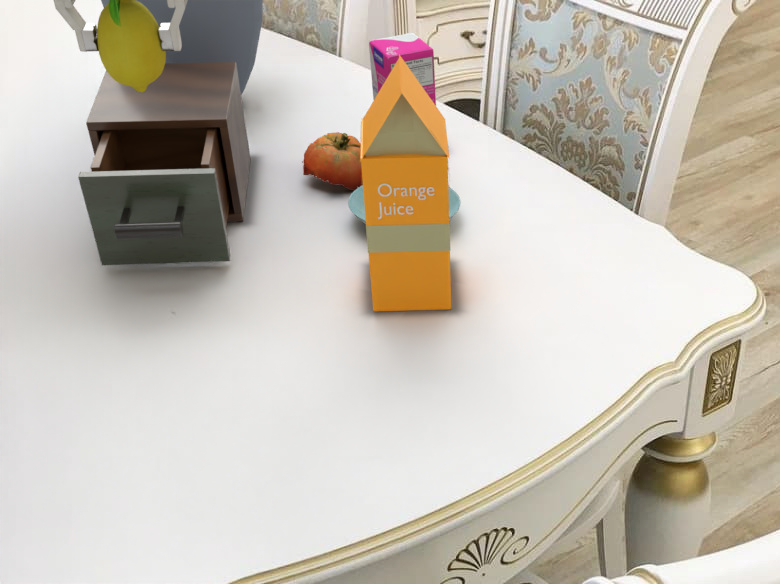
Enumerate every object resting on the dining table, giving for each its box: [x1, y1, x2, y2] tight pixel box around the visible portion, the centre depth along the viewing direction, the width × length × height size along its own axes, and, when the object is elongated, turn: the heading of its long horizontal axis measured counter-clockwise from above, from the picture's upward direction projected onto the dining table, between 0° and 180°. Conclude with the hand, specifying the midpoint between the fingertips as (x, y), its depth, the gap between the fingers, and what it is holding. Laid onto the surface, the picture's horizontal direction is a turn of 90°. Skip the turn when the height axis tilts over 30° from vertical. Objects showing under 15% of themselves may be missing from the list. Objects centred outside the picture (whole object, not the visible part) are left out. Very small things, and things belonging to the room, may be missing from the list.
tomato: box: [301, 131, 363, 191], centre depth 124 cm, size 8×7×7 cm
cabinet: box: [85, 62, 252, 223], centre depth 119 cm, size 16×14×11 cm
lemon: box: [97, 0, 166, 92], centre depth 94 cm, size 7×6×10 cm
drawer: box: [78, 127, 231, 266], centre depth 109 cm, size 19×12×9 cm, turn 6°
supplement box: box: [368, 32, 437, 106], centre depth 127 cm, size 6×6×12 cm
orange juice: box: [360, 55, 452, 312], centre depth 102 cm, size 8×9×20 cm
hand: (131, 49), depth 95 cm, fingers closed on lemon, 5 cm apart
